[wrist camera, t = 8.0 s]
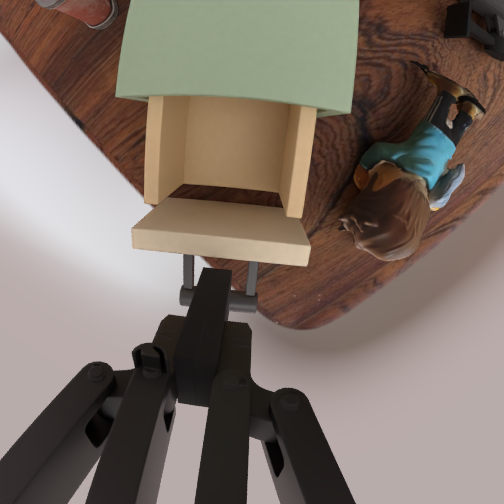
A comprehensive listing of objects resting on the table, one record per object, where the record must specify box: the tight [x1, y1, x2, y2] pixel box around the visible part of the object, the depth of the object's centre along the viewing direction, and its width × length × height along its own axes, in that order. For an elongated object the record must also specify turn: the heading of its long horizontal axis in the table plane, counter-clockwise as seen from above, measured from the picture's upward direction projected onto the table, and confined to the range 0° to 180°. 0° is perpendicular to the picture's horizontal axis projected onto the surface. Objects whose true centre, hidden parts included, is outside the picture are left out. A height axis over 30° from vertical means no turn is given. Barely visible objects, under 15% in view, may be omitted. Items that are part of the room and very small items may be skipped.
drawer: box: [132, 96, 317, 314], centre depth 17 cm, size 16×9×7 cm, turn 174°
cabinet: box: [115, 0, 359, 118], centre depth 12 cm, size 13×11×9 cm
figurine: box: [338, 61, 486, 261], centre depth 17 cm, size 8×16×6 cm, turn 152°
